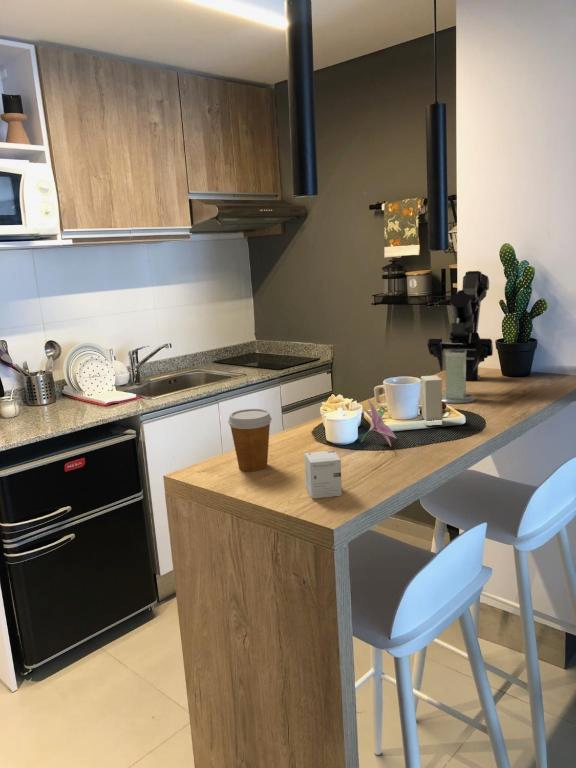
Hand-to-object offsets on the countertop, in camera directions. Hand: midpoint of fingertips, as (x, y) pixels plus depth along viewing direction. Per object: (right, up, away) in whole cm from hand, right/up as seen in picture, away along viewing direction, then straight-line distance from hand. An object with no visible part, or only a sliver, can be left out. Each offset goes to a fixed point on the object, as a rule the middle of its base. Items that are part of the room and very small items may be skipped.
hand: (456, 370), depth 183 cm
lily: (-28, -18, -35) cm, 49 cm away
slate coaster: (0, -9, 0) cm, 9 cm away
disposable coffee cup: (-58, -22, -47) cm, 78 cm away
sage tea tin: (0, -8, 0) cm, 8 cm away
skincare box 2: (-13, -14, -22) cm, 29 cm away
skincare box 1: (-43, -25, -63) cm, 81 cm away
